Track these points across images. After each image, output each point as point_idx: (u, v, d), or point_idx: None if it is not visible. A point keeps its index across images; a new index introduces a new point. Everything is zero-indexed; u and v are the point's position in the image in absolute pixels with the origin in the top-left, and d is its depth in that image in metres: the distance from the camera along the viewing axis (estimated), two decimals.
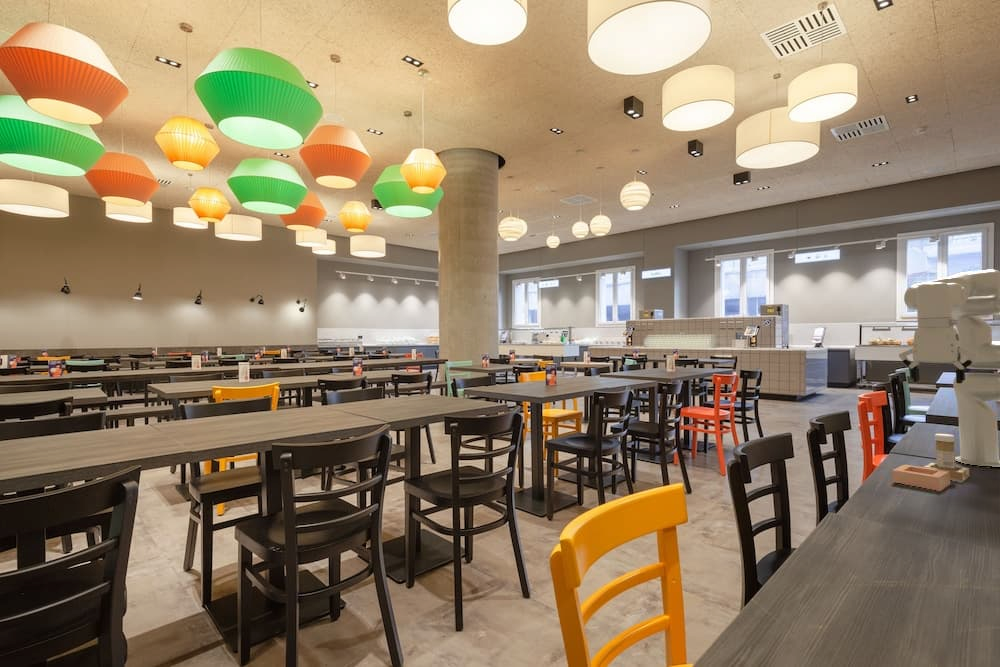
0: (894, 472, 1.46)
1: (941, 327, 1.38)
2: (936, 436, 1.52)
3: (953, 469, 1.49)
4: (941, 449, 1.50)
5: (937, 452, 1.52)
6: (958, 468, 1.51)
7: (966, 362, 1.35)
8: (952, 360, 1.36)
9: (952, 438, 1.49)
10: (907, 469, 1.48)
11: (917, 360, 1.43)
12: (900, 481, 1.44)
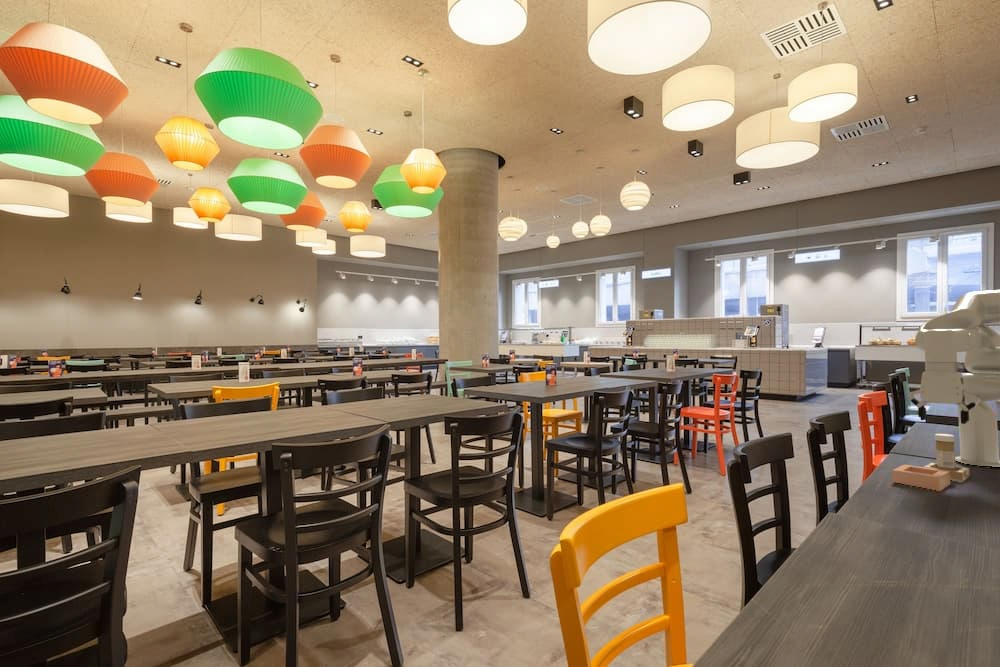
0: (894, 472, 1.46)
1: (947, 371, 1.48)
2: (936, 436, 1.52)
3: (953, 469, 1.49)
4: (941, 449, 1.50)
5: (937, 452, 1.52)
6: (958, 468, 1.51)
7: (970, 404, 1.45)
8: (957, 402, 1.47)
9: (952, 438, 1.49)
10: (907, 469, 1.48)
11: (924, 400, 1.53)
12: (900, 481, 1.44)
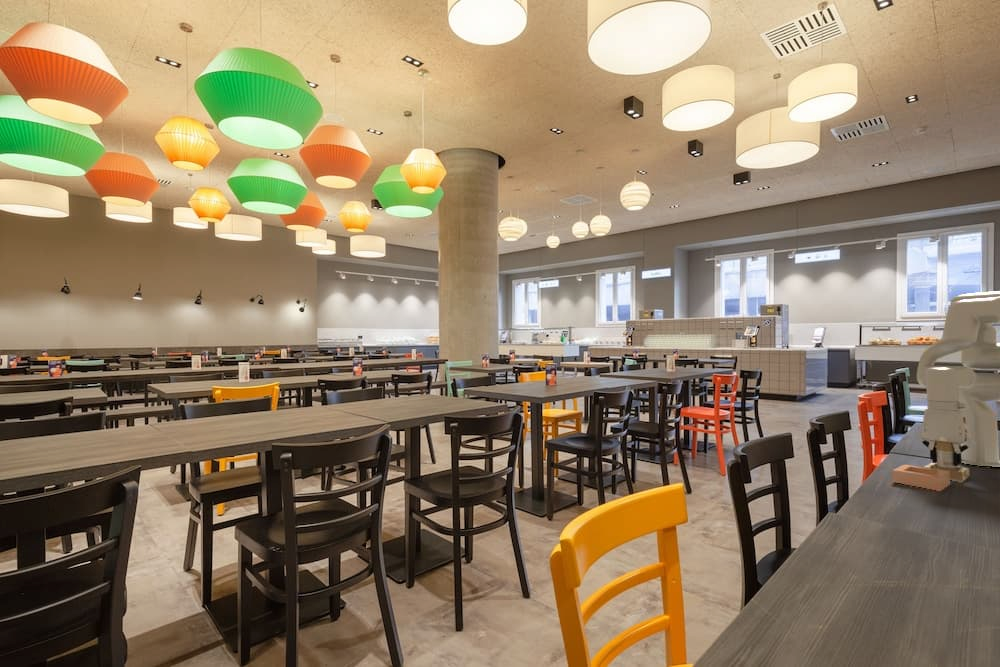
0: (894, 472, 1.46)
1: (949, 410, 1.48)
2: None
3: (953, 469, 1.49)
4: (941, 449, 1.50)
5: (937, 452, 1.52)
6: (958, 468, 1.51)
7: (962, 447, 1.47)
8: (960, 442, 1.47)
9: None
10: (907, 469, 1.48)
11: (927, 438, 1.53)
12: (900, 481, 1.44)
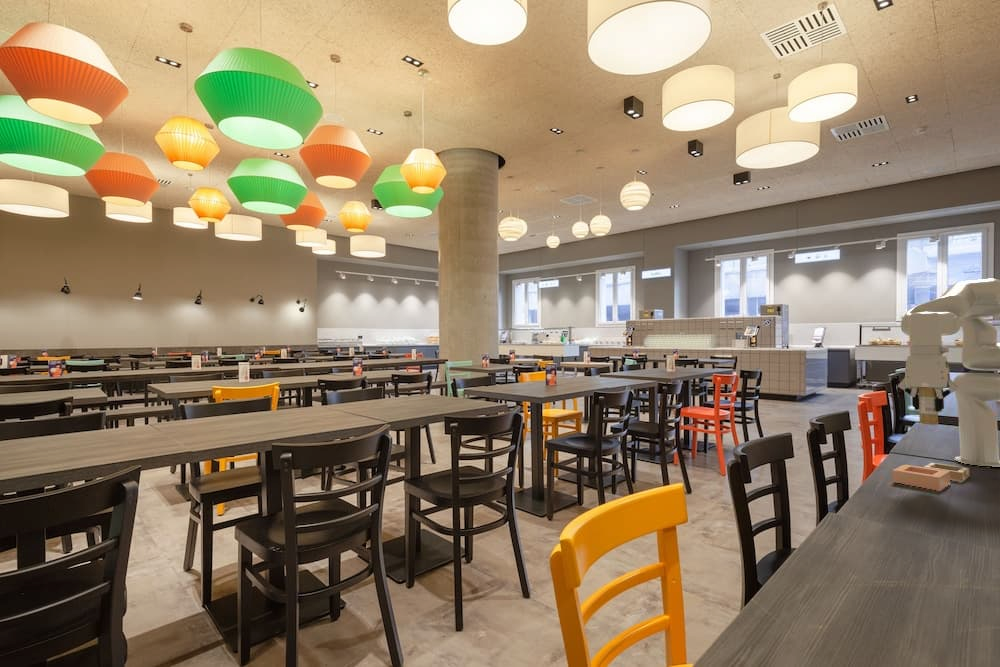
0: (894, 472, 1.46)
1: (932, 355, 1.45)
2: None
3: (935, 415, 1.45)
4: (923, 395, 1.47)
5: (919, 399, 1.48)
6: (958, 468, 1.51)
7: (945, 392, 1.44)
8: (942, 386, 1.43)
9: None
10: (907, 469, 1.48)
11: (909, 385, 1.50)
12: (900, 481, 1.44)
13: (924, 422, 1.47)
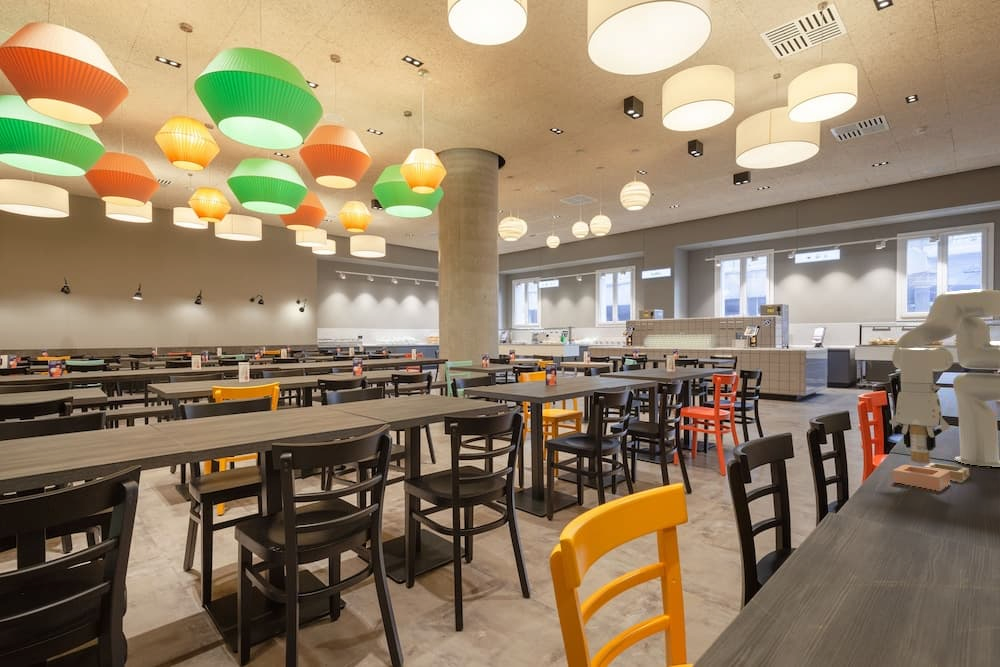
0: (894, 472, 1.46)
1: (923, 392, 1.42)
2: None
3: (927, 454, 1.43)
4: (914, 433, 1.44)
5: (911, 436, 1.45)
6: (958, 468, 1.51)
7: (936, 430, 1.41)
8: (933, 425, 1.41)
9: None
10: (907, 469, 1.48)
11: (900, 422, 1.47)
12: (900, 481, 1.44)
13: (915, 460, 1.44)
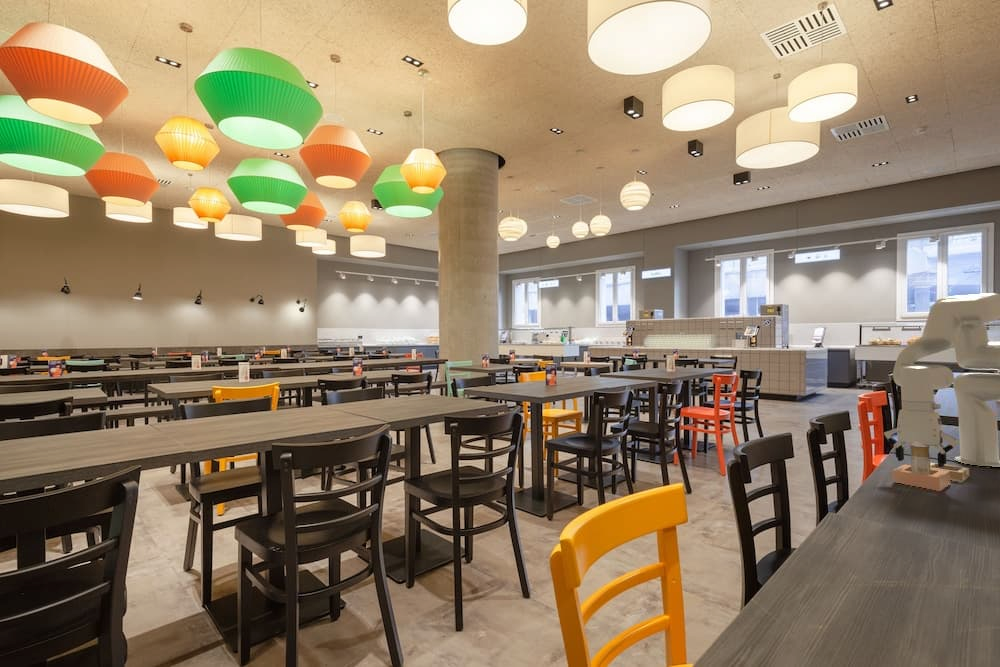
0: (894, 472, 1.46)
1: (924, 411, 1.42)
2: None
3: None
4: (916, 455, 1.44)
5: (912, 458, 1.45)
6: (958, 468, 1.51)
7: (947, 447, 1.39)
8: (934, 444, 1.40)
9: None
10: (907, 469, 1.48)
11: (901, 440, 1.47)
12: (900, 481, 1.44)
13: None
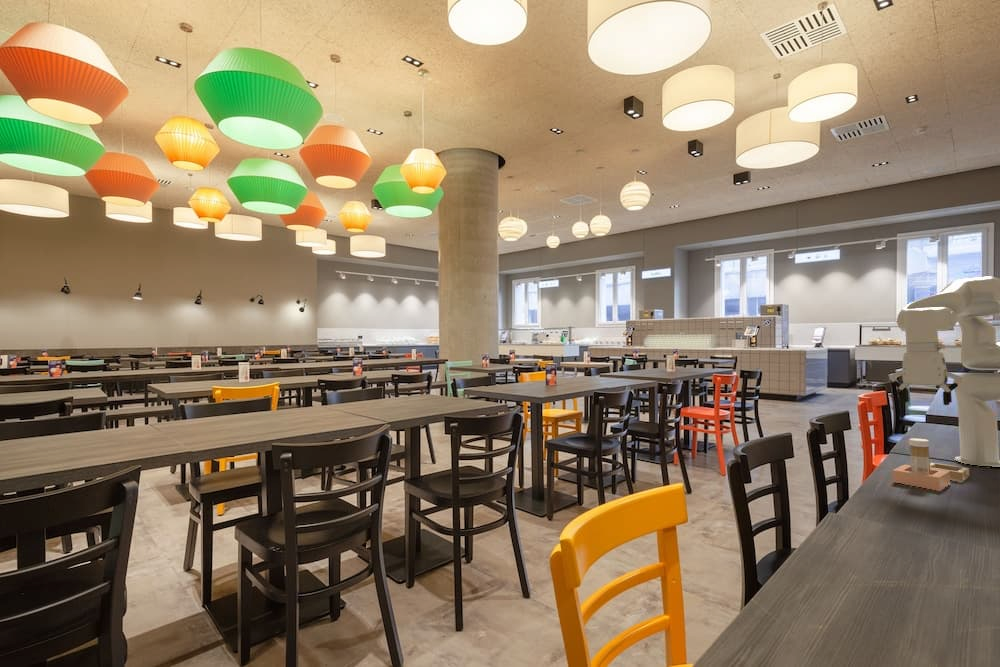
0: (894, 472, 1.46)
1: (928, 352, 1.44)
2: (910, 441, 1.45)
3: None
4: (915, 454, 1.44)
5: (911, 458, 1.45)
6: (958, 468, 1.51)
7: (952, 385, 1.41)
8: (939, 383, 1.43)
9: (927, 443, 1.43)
10: (907, 469, 1.48)
11: (906, 382, 1.50)
12: (900, 481, 1.44)
13: None
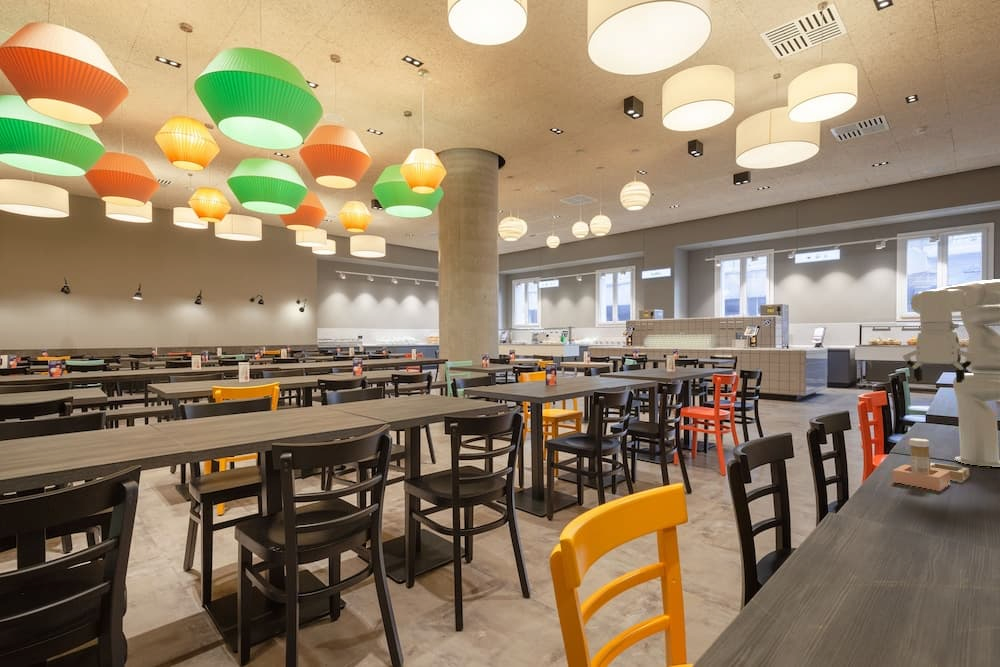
0: (894, 472, 1.46)
1: (942, 330, 1.49)
2: (911, 441, 1.45)
3: None
4: (915, 454, 1.44)
5: (912, 458, 1.45)
6: (958, 468, 1.51)
7: (965, 363, 1.46)
8: (952, 361, 1.47)
9: (927, 443, 1.43)
10: (907, 469, 1.48)
11: (920, 361, 1.54)
12: (900, 481, 1.44)
13: None
